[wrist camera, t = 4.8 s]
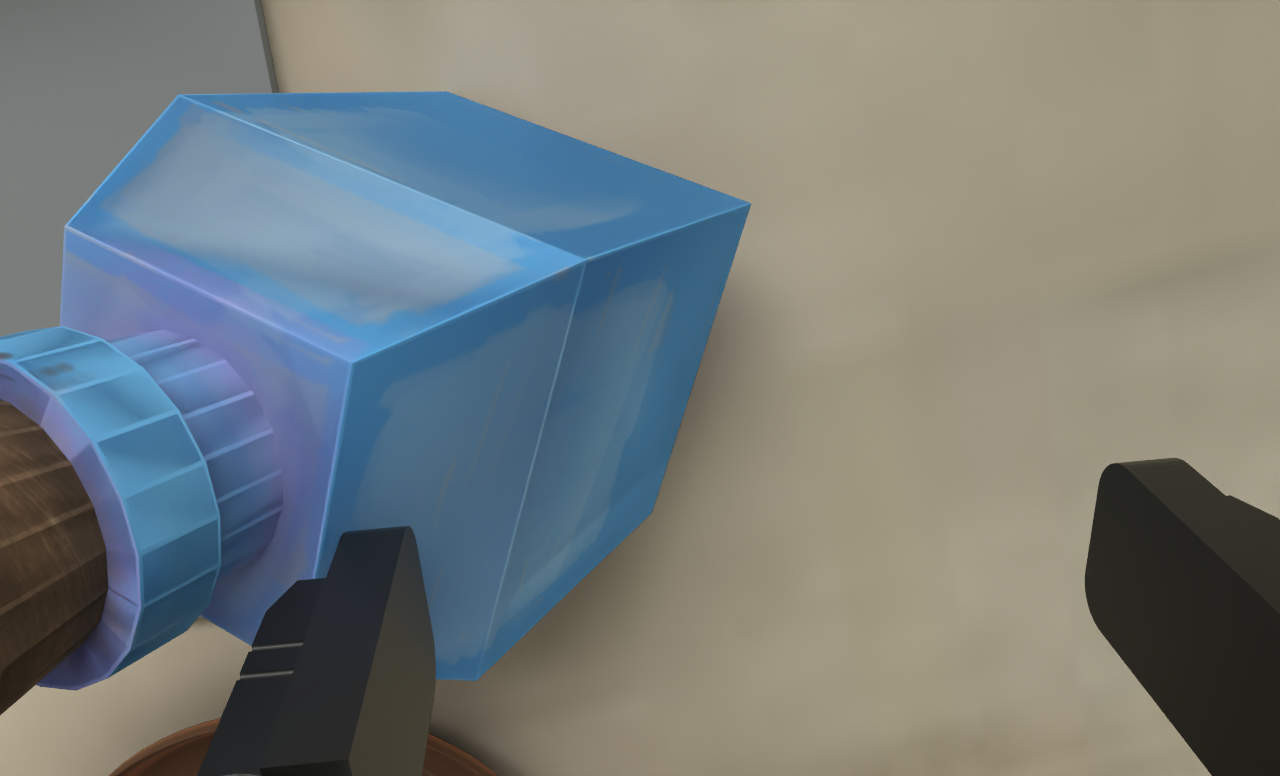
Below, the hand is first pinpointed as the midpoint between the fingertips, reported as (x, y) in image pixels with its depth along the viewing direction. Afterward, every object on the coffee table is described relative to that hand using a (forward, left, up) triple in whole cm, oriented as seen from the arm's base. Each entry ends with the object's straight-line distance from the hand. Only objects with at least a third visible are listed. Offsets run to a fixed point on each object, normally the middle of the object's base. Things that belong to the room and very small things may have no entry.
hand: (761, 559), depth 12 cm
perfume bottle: (+2, 0, -8) cm, 9 cm away
